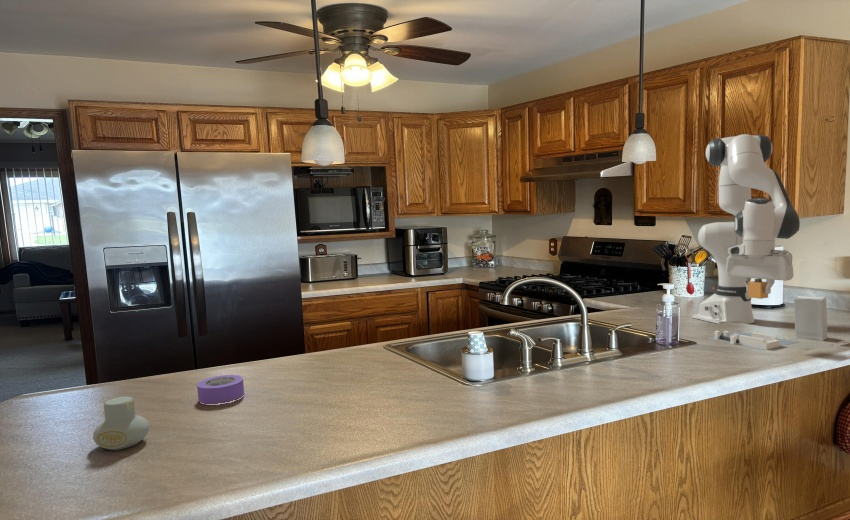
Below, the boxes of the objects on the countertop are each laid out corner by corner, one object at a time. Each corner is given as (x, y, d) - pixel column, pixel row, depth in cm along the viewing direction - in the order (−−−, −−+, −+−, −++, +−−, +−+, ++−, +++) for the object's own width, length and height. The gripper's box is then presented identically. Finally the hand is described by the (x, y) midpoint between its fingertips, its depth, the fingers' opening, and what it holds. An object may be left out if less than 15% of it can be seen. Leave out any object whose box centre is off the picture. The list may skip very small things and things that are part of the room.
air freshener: (156, 436, 132) (152, 393, 131) (139, 451, 124) (135, 405, 123) (107, 438, 132) (103, 395, 131) (87, 453, 124) (83, 408, 123)
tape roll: (196, 408, 150) (194, 389, 150) (200, 395, 162) (199, 377, 161) (243, 402, 153) (242, 384, 153) (245, 389, 165) (243, 372, 164)
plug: (748, 297, 187) (748, 278, 186) (756, 296, 188) (756, 277, 188) (760, 298, 183) (760, 279, 183) (768, 297, 185) (768, 278, 184)
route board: (706, 341, 198) (706, 330, 198) (739, 334, 207) (739, 323, 206) (763, 353, 181) (763, 340, 180) (797, 345, 189) (797, 333, 189)
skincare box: (827, 340, 193) (828, 296, 192) (822, 344, 189) (823, 299, 188) (798, 337, 199) (799, 294, 198) (793, 340, 195) (793, 296, 194)
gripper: (798, 249, 177) (797, 294, 178) (735, 248, 195) (735, 288, 196) (785, 250, 174) (785, 296, 175) (723, 248, 192) (723, 290, 193)
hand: (758, 292), depth 186 cm, fingers closed on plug, 4 cm apart
